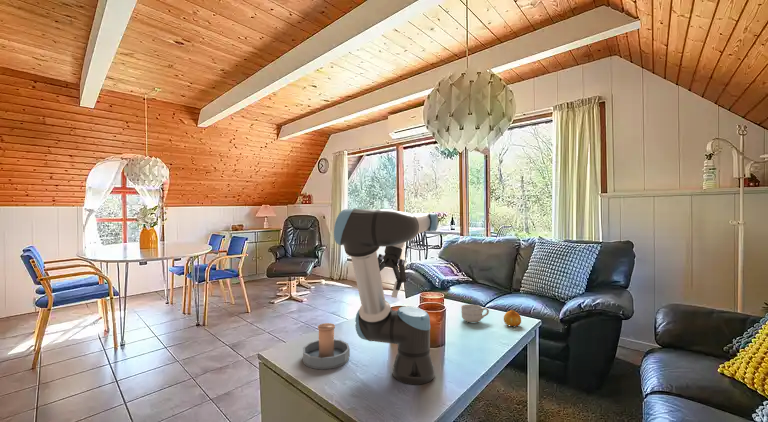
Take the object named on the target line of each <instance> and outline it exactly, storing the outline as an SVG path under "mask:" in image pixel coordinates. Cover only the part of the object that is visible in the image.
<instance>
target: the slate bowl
mask: <svg viewBox="0 0 768 422" xmlns="http://www.w3.org/2000/svg"><path fill="white" fill-rule="evenodd" d="M350 350H351V348H350V345H349V343H347V342H345V341H344V340H341V339H335V338H334V357H324V358H321V357H319V339H317V340H314V341H312V342H309V343H307V344H306V345H304V346H303V347H302V362H303V364H304V366H306V367H308V368H310V369H315V370H332V369H336V368H339V367H341V366H343V365H345V364H347V362H348V361H349V359H350V355H351V351H350Z"/></svg>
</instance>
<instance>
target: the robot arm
mask: <svg viewBox="0 0 768 422" xmlns="http://www.w3.org/2000/svg"><path fill="white" fill-rule="evenodd" d="M334 223H335V224H334V228H333V239H334V241H335V244H336V245H339V246H343V248H344V252H345V253H346V255H347V256H348V257H350V258H351V259H350V260H351V263H352V267H353V272H354V276H355V282H356V285H357V290H358V291H357V292H358V295H359V300H360V307H359V309H358V310H357V312H356V315H355V320H354V321H355V330H356V331H355V332H356V334H357V336H358V337H359V338H360V339H361V340H364V341H368V342H378V343H383V344H384V343H385V344H393V345H397V352H396V356H395V358H394V363H393V364H392V376H393V378H394V379H395V380H397V381H399V382H400V383H403V384H408V385H424V384H428V383H430V382H431V381H432V379H433V380H434V378H435V374H436V373H435V366H434V365H433V361H432V357H431V349H430V348H431V318H430V315H429V313H428V312H427V311H425V309H421V308H419V307H416V306H405V305H404V306H401V307H399V308H398V310H395V309H394V310H393V309H392V308H391V305H390V303H389V302H388V301H387V300H386V299H385V292H384V288H383V281H382V275H381V272H382V270H384V268H386V267H389V268H391V269H392V270H393V273H394V277H395V279H396V281H394V285H393V289H392V292H391V298H394V299H397V298H398V293H399V291H400V290H401V288H402V284H403V283H407V275H406V270H405V269H406V267H405V263H406V261H405V259H401V256H402V252H403V247H404V245H405V243H407V242H409V241H411V240H413V239H414V238H416V236H418V235H419V234H421V233H424V232H436V231H437V230H438V228H439V216H438V214H437V213H436V212H435V213H434V212H409V211H408V212H407V211H399V210H394V209H388V208H387V209H386V208H356V207H355V208H345V209H342V210H341V211H340V212H339V213H338V215H337V217H336V219H335V222H334ZM380 247H382V248H383V247H384V254H382V253H379V254H378V253H377V252H378V250H379V249H380Z"/></svg>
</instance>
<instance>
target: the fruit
mask: <svg viewBox="0 0 768 422" xmlns="http://www.w3.org/2000/svg"><path fill="white" fill-rule="evenodd" d="M503 321H504V324H505V325H506V324H507V326H508V325H510V326H516V327H518V325H519V326H520V325H521V323H522V318H521V315H520V313H518V312H516V310H514V309H511V310H509V311H506V313H504V316H503ZM510 326H509V327H510Z"/></svg>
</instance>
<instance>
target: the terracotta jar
mask: <svg viewBox="0 0 768 422" xmlns="http://www.w3.org/2000/svg"><path fill="white" fill-rule="evenodd" d="M335 325H336V324H334V323H331V322H330V323H329V322H325V323H321V324H320V323H319V324H318V326H317V330H318V340H319V357H321V358H324V357H334V339H335V328H336V326H335Z"/></svg>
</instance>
